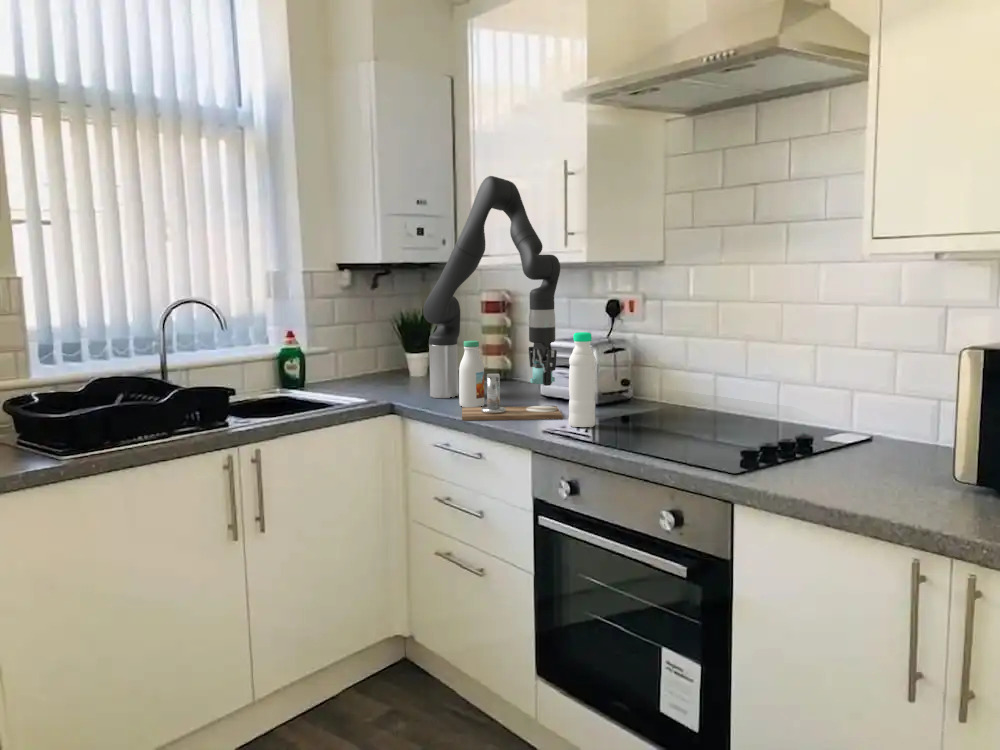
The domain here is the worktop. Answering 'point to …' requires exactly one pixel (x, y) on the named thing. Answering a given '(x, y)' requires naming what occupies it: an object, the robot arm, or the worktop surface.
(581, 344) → the white bottle
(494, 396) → the post
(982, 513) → the worktop surface
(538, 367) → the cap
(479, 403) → the milk bottle
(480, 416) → the board
